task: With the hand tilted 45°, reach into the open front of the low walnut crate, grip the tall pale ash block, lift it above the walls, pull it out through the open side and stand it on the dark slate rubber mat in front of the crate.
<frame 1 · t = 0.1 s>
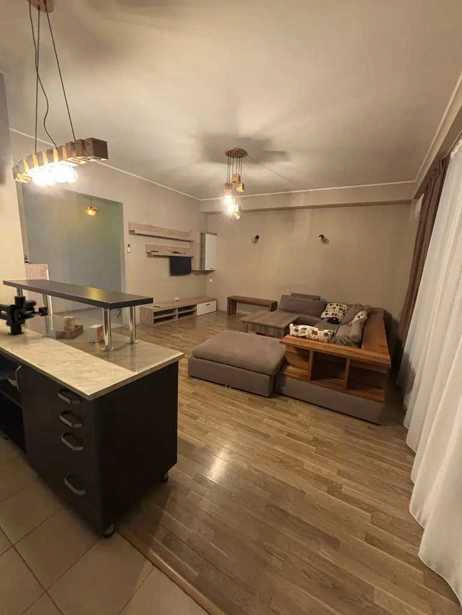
hand: (41, 315, 159), 17 cm above the table, tool horizontal, fingers open, 9 cm apart
small box: (96, 341, 167), on the table
ash block: (69, 326, 173), in the walnut crate
walnut crate: (70, 334, 175), on the table
slate mat: (55, 334, 173), on the table
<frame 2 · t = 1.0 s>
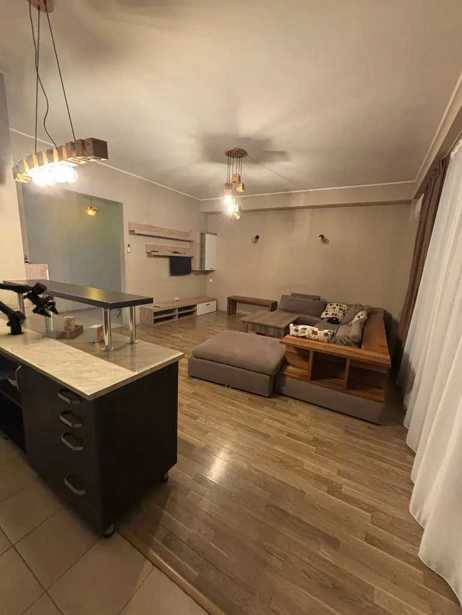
hand: (54, 315, 171), 14 cm above the table, tool tilted 45°, fingers open, 9 cm apart
nothing on the table moved.
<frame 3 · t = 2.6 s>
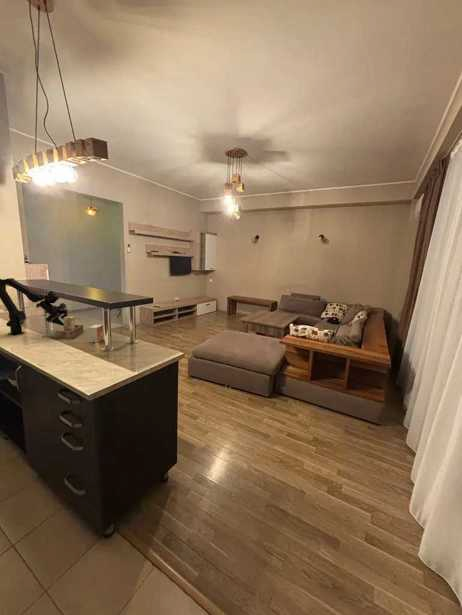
hand: (67, 323, 173), 8 cm above the table, tool tilted 45°, fingers open, 9 cm apart
nothing on the table moved.
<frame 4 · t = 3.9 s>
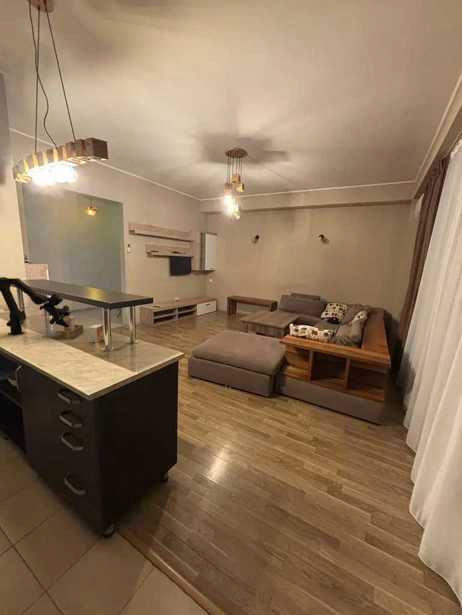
hand: (70, 325, 173), 7 cm above the table, tool tilted 45°, fingers closed on ash block, 5 cm apart
ash block: (69, 326, 173), in the walnut crate, touching gripper
everything else where it was.
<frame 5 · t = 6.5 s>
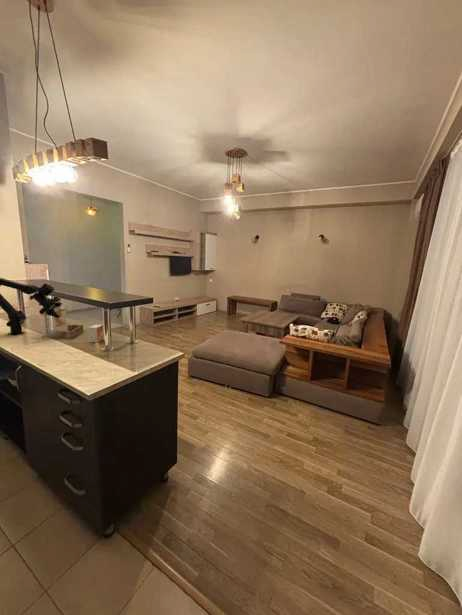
hand: (60, 316, 171), 13 cm above the table, tool tilted 45°, fingers closed on ash block, 5 cm apart
ash block: (60, 316, 171), point 13 cm above the table, touching gripper
everything else where it was.
when the fingers open (8 cm above the table, at t = 9.0 s): ash block drops 1 cm, resting on slate mat.
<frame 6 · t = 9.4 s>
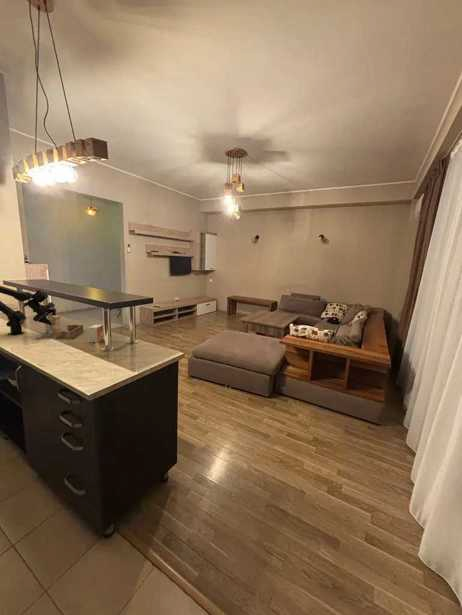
hand: (55, 323, 172), 8 cm above the table, tool tilted 45°, fingers open, 9 cm apart
ash block: (54, 325, 172), resting on slate mat
everything else where it was.
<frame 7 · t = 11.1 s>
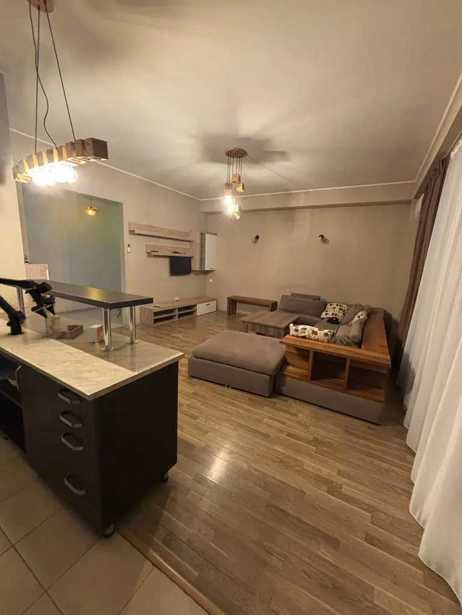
hand: (51, 316, 170), 13 cm above the table, tool tilted 30°, fingers open, 9 cm apart
nothing on the table moved.
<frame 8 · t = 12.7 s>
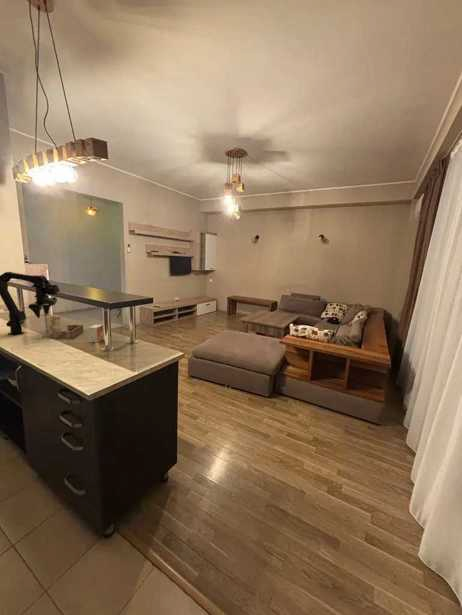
hand: (42, 316, 169), 13 cm above the table, tool pointing down, fingers open, 9 cm apart
nothing on the table moved.
at the end: ash block 0.1 cm off-centre on the slate mat, point 6.8 cm above the slate mat's base; ash block tilted 0°; the gripper is holding nothing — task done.
